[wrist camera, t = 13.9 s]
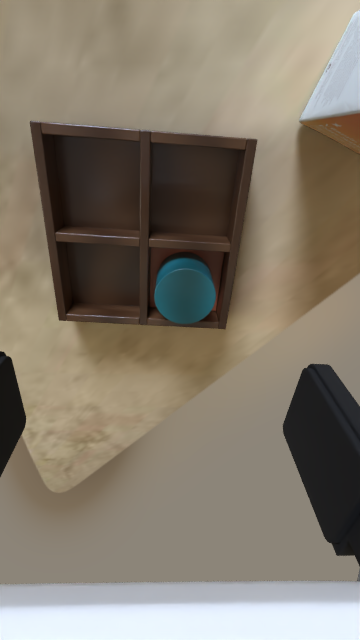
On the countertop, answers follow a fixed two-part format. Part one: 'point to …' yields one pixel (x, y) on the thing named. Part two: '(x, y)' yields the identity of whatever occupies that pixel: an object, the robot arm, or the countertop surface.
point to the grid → (138, 215)
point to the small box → (339, 92)
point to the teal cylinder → (184, 288)
